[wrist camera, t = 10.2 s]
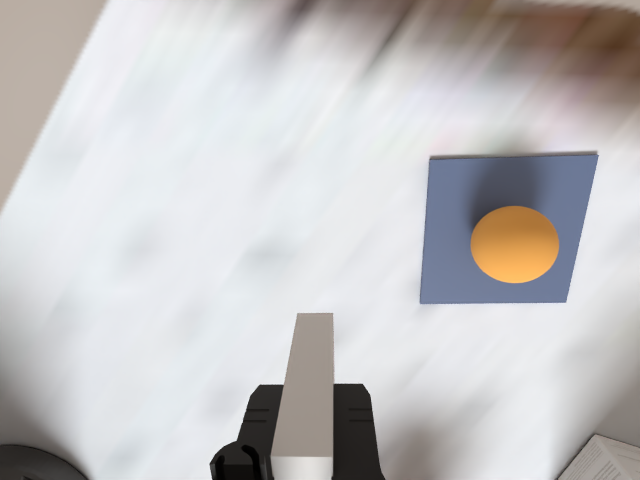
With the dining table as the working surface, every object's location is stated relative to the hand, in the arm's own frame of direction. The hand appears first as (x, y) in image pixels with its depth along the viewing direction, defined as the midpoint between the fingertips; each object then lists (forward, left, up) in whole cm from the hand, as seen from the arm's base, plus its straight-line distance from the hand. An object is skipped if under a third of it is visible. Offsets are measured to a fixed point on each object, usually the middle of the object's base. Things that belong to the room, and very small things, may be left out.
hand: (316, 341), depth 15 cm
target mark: (+14, 0, -14) cm, 20 cm away
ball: (+13, 0, -11) cm, 18 cm away
